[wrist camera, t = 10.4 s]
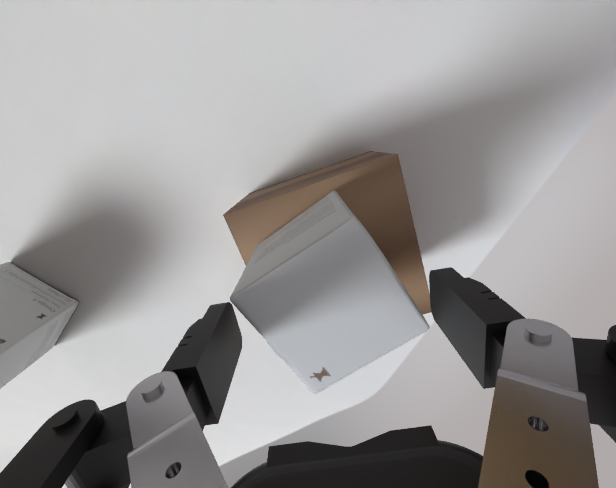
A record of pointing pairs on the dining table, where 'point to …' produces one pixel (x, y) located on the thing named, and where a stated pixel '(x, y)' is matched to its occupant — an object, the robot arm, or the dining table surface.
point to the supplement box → (28, 319)
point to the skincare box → (326, 296)
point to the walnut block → (358, 198)
